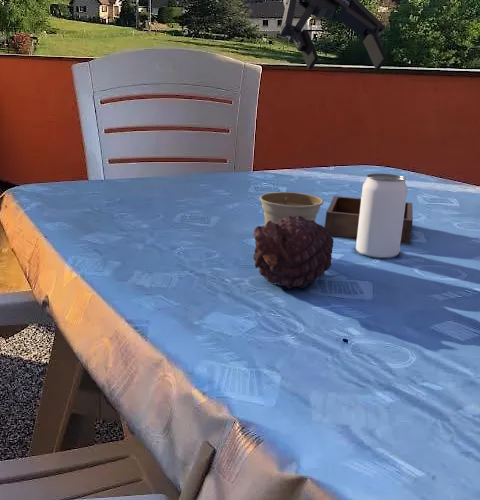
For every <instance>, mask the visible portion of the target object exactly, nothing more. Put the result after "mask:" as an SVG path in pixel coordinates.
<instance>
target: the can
mask: <svg viewBox="0 0 480 500" xmlns="http://www.w3.org/2000/svg"><path fill="white" fill-rule="evenodd" d="M406 180H407V178H406V176H404V175H399V174H393V173H381V172H380V173H379V172H378V173H377V172H376V173H375V172H374V173H368V174H367V175H366V179H365V181H364V182H363V184H362V188H361V189H362V190H361V197H360V198H361V205H360V214H359V223H358V232H357V238H356V242H355V250H356V251H357V253H358V254H359V255H362V256H366V257H369V258H373V259H374V258H375V259H392V258H395V257H397V256H398V255H399V254H400V249H401V244H402V243H401V235H402V228H403V220H404V213H405V205H406V203H407V197H408V196H407V195H408V187H407V183H406Z"/></svg>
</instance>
